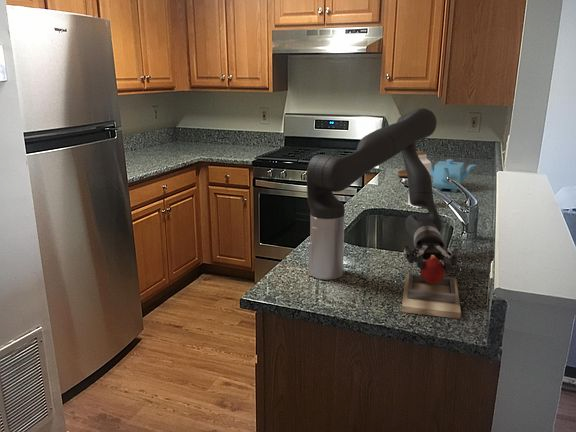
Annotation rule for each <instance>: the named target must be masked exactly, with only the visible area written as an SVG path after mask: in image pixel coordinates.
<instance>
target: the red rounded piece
mask: <svg viewBox="0 0 576 432" xmlns="http://www.w3.org/2000/svg"><path fill="white" fill-rule="evenodd" d="M419 270H420V269H419ZM419 274H421V276H422V278H423V279H424V280H425V281H426V282H427V283H428V284H429V285H435V284H437V283H439V282H440V281H442V279H443V278H444V277H446V271H445V269H444V265H443V264H442V262H441V261H440V260H438V259H437V258H436V257H435V256H434V255H431V258H429V259H427V260H426V261H425V262H424V265H423V270H420V273H419Z"/></svg>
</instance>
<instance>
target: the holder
mask: <svg viewBox="0 0 576 432" xmlns="http://www.w3.org/2000/svg"><path fill="white" fill-rule="evenodd" d="M401 301H402V303H401V313H408V314H418V315H423V316H424V315H426V316H432V317H433V316H435V317H442V318H449V319H450V318H451V319H459V320H460V319H461V315H462V313H461V311H462V310H461V304H460V303H461V302H460V298H459V289H458V281H457V278H456V277H451V276H449V277H448V276H444V278H443V279H442V281H440V282H439V283H437V284H435V285H429V284H428V283H427V282H426V281H425V280H424V279H423V278H422V276H421V274H420V273H419V274H418V273H405V279H404V286H403V294H402V300H401Z"/></svg>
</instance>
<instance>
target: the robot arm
mask: <svg viewBox="0 0 576 432" xmlns="http://www.w3.org/2000/svg"><path fill="white" fill-rule="evenodd" d="M437 124H438V123H437V117H436V115H435V114H434V112H432V111H431V110H430V109H428V108H423V107H422V108H417V109H414V110H412V111H409V112H408V113H405V114H403V115H401V116H399V117H398V119H397V121H396V122H394V123H392V124H388V125H386V126H382V127H381V128H379V129H376V130H374V131H372V132H370V133H368V134H367V135H364V136H363V137H362V138H361V139H360V140H359V142H358V144H357V147H356V150H355V151H354V152H351V153H349V154H347V155H344V156H338V155H329V154H316V155H313V156H312V158H311V159H310V160H309V163H308V165H307V169H306V194H307V197H306V198H307V204H308V207H309V211H310V220H309V221H310V222H309V223H310V231H309V233H310V234H309V235H310V236H309V237H310V238H309V239H310V240H309V242H308V245H307V247H308V248H307V250H308V251H307V252H308V253H307V256H308V258H307V260H308V261H307V262H308V263H307V265H308V266H307V270H308V271H307V272H308V273H307V274H308V275H307V276H308V277H309V276H310V277H313V278H315V279H318V280H325V281H326V280H335V279H339V278H341V277H343V275H344V253H345V252H344V249H345V247H344V245H345V243H344V242H345V211H346V210H345V209H346V208H345V204H344V203H343V202H342V201H341V200H339V199H338V198H337V197H336V196H335V194H334V193H335V192H336V193H338V192H339V193H340V192H342V191H344V190H346V189H347V188H349V187H350V186H351V185H353V184H354V183H355V182H356V181H358V180H359V179H360V178H362V176H364V175H365V174H366V173H369V172H370V171H371V170H373V169H375V168H376V167H378V166H381V165H382V164H384V163H385V162H386V161H389V160H390V159H392V158H393V157H395V156H396V155H398V154H399V153H401V155H402V158H403V162H404V166H405V169H406V171H407V177H406V178H407V183H408V184H407V185H408V196H409V198H410V203H411V205H413V206H419V207H424V209H426V210H427V212H421V213H420V212H419V213H418V212H417V213H411V214H410V215H408V216H407V218H406V219H405V229H406V232H407V234H408V236H410V237H411V239H413V246H414V247H411V246H409V245H404V246H403V257H404V258H405V259H406V261H407V262H408V263H409V264H414V263H415V264H416V267H417V268H418V269H419V270H423V265H424V262H425V261H426V260H427V259H429V258H431V255H434V256H435V257H436V258H437V259H438V260H440V261H441V262H442V264H443V265H444V269H445V272H449V270H451V269H452V266H457V263H458V259H459V251H460V249H459V248H456V247H455V248H453V249H451V250H449V249H448V248H447V247H446V246H445V243H444V240H443V238H442V235H441V232H442V229H443V223H442V218H441V216H440V214H439V211H438V210H437V207H436V204H435V200H434V195H433V194H434V193H433V182H432V181H433V180H432V176H431V174H429V172H428V170H427V169H426V167H425V166H424V165H423V163H422V162H421V160H420V159H419V157H418V155H417V152H416V151H417V146H416V145H417V142H418V141H421V140H423V139H425V138H428V137H430V136H431V135H433V134H434V132H435V130H436V128H437ZM333 192H334V193H333Z"/></svg>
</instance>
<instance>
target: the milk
mask: <svg viewBox="0 0 576 432" xmlns="http://www.w3.org/2000/svg"><path fill="white" fill-rule="evenodd" d="M418 157H419V159H420V160H421V162H422V163H423V165H424V166H425V167H426V169H427V170H428V172H429V174H430V175H431V164H432V162H431V160H429V159H428V158H427V157H428V156H427V154H426V153H425V155H418ZM407 196H408V198H407V200H408V201H407V206H408V205H410V206H409V207H411V206H413V205H411V203H410V198H409V195H407ZM414 207H416V208H415V209H417V208H419V209H423V208H422V207H419V206H413V207H412V208H414Z"/></svg>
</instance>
